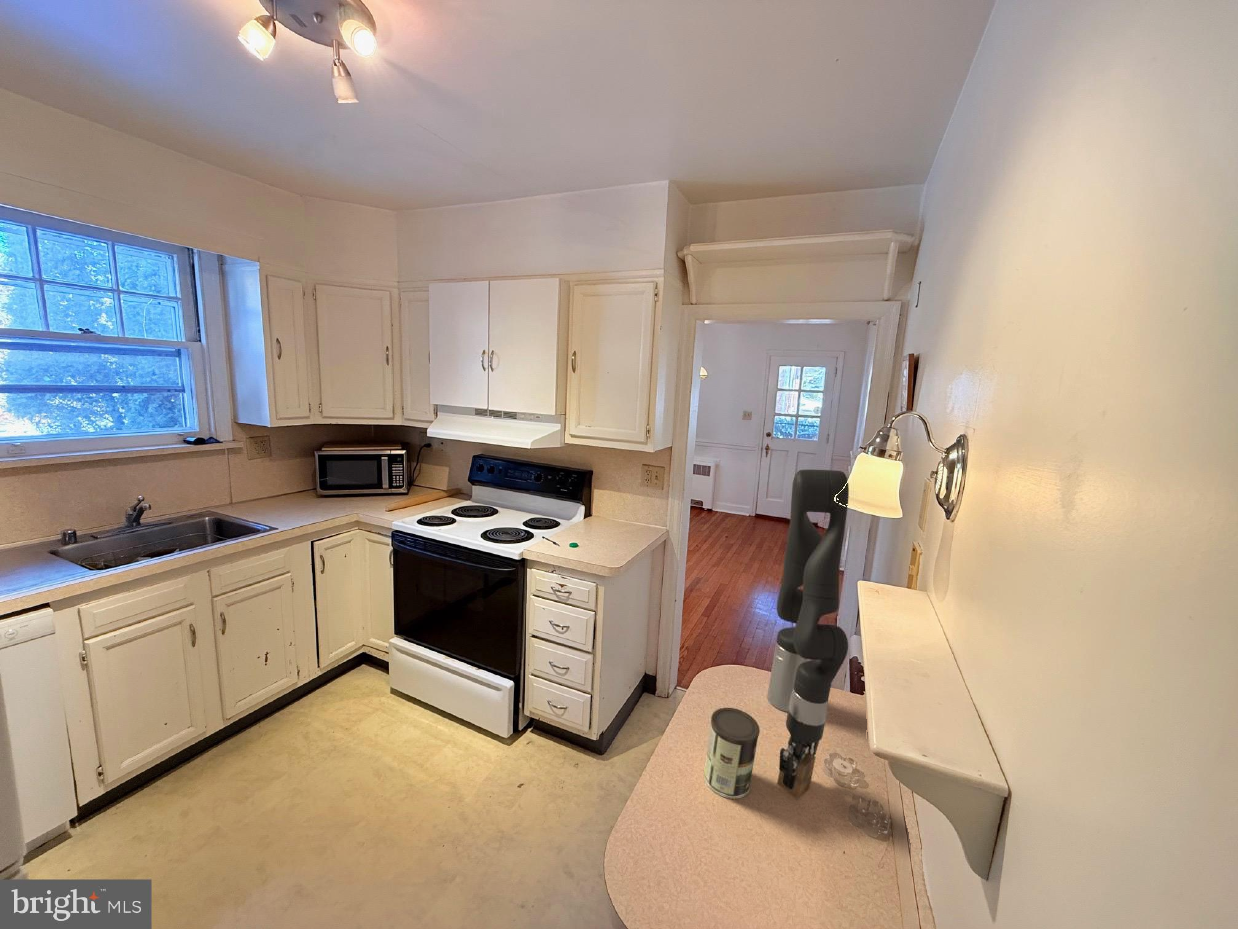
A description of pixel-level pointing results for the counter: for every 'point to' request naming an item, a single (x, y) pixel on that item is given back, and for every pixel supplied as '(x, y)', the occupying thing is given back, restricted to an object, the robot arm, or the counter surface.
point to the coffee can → (731, 752)
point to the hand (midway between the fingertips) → (794, 779)
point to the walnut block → (800, 777)
